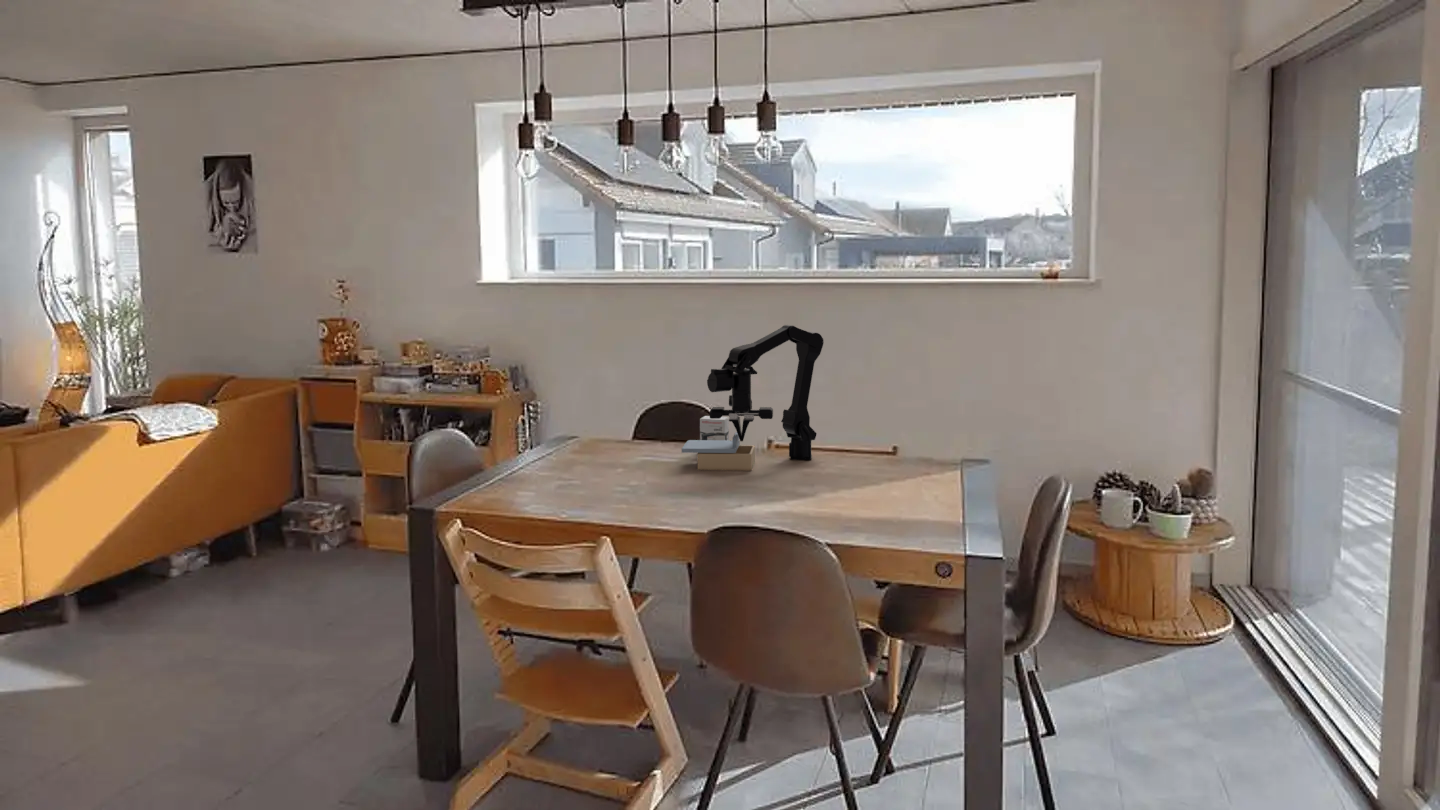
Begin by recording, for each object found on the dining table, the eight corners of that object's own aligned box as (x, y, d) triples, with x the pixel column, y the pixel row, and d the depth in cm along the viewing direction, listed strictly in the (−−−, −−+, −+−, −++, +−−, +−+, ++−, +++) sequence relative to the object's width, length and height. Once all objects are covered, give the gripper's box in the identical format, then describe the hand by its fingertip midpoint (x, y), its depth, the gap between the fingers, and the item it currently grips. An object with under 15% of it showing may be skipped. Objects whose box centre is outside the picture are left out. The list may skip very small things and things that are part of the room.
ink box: (699, 454, 335) (699, 418, 333) (704, 451, 339) (703, 415, 338) (724, 455, 332) (724, 419, 330) (729, 452, 337) (729, 416, 335)
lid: (739, 444, 322) (739, 430, 322) (735, 453, 308) (735, 439, 308) (688, 443, 324) (688, 430, 323) (681, 452, 310) (681, 438, 310)
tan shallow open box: (755, 461, 322) (754, 445, 322) (751, 470, 309) (751, 454, 308) (703, 460, 324) (703, 444, 323) (697, 470, 310) (697, 453, 310)
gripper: (774, 386, 319) (774, 436, 322) (713, 386, 321) (713, 436, 324) (772, 391, 308) (772, 443, 311) (709, 391, 310) (709, 442, 313)
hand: (741, 441), depth 315 cm, fingers closed
